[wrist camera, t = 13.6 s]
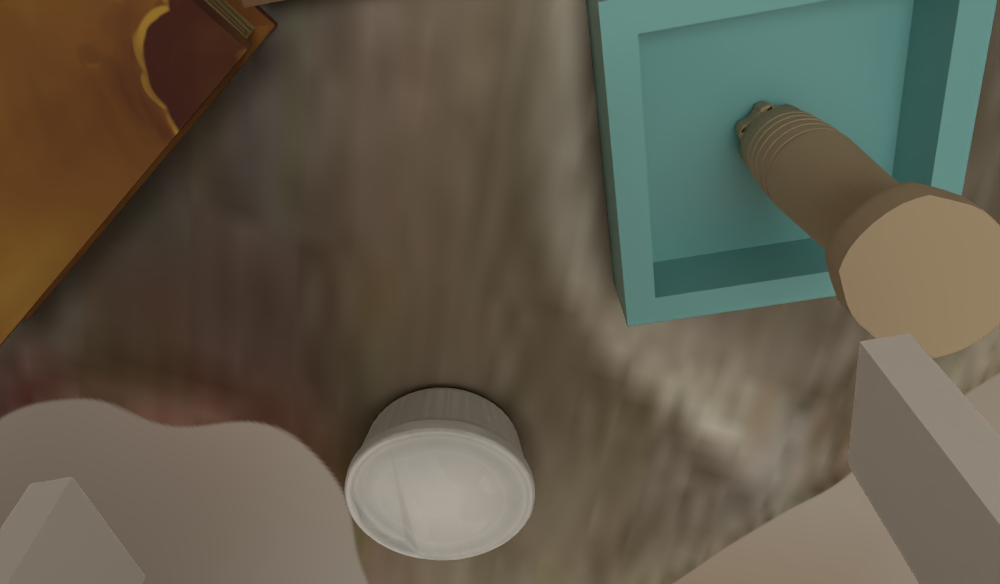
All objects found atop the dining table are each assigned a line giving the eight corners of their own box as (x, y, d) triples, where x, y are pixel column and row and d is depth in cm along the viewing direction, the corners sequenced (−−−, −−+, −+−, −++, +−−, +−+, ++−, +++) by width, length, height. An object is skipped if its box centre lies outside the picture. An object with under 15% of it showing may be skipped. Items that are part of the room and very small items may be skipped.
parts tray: (584, -16, 33) (598, 1, 29) (946, -82, 32) (1009, -73, 28) (614, 282, 41) (627, 326, 37) (901, 237, 40) (946, 279, 36)
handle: (760, 48, 34) (942, 164, 21) (843, 132, 36) (1054, 285, 23) (684, 127, 35) (807, 279, 23) (768, 203, 38) (924, 380, 25)
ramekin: (320, 429, 47) (303, 491, 42) (453, 340, 43) (450, 397, 39) (435, 521, 51) (430, 586, 47) (562, 447, 48) (571, 509, 43)
